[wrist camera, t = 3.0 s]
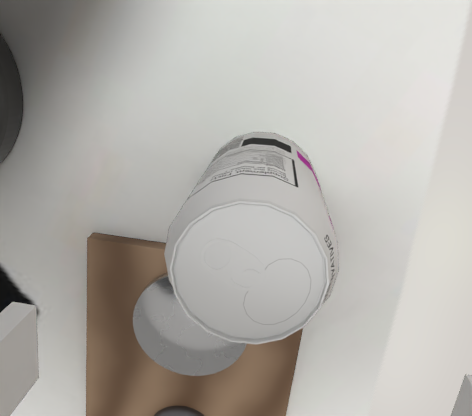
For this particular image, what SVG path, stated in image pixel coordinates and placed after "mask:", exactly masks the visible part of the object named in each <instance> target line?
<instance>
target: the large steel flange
mask: <svg viewBox="0 0 472 416" xmlns="http://www.w3.org/2000/svg"><path fill="white" fill-rule="evenodd" d="M133 328H134V332H135V336H136V338H137V340H138V342H139V344H140V346H141V347H142V349H143V350H144V352H145V353H146V354H147V355H148V356H149V357H150V358H151V359H152V360H153V361H155V362H156V363H157V364H159V365H160V366H162V367H164V368H166V369H168V370H170V371H173V372H176V373H179V374H183V375H190V376H203V375H210V374H214V373H217V372H220V371H222V370H224V369H226V368H228V367H229V366H230V365H232V364H233V363H234V362H235V361H236V360H237V359H238V358H239V357H240V356H241V354H242V353H243V351H244V349H245V347H246V345H247V344H246V343H237V342H230V341H227V340H225V339H222V338H220V337H218V336H215V335H213V334H211V333H208V332H206V331H205V330H204V329H203V328H201V327H200V326H199V325H198V324H197V323H196V322H194V321H193V320H192V319H191V318H190V317H188V316H187V314H186V313H185V311H184V309H183V308H182V306H181V304H180V303H179V301H178V299H177V298H176V296H175V294H174V290H173V286H172V285H171V283H170V281H169V277H168V272H166V273H164V274H162V275H160V276H158V277H157V278H155V279H154V280H153V281H151V282H150V283H149V284H148V285H147V286H146V288H145V289H144V291H143V292H142V294H141V295H140V297H139V299H138V301H137V303H136V305H135V309H134V313H133Z"/></svg>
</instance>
